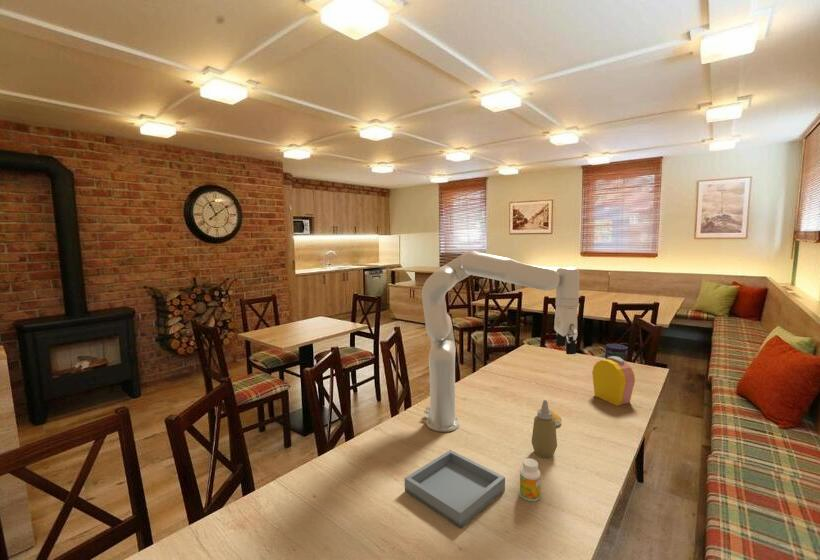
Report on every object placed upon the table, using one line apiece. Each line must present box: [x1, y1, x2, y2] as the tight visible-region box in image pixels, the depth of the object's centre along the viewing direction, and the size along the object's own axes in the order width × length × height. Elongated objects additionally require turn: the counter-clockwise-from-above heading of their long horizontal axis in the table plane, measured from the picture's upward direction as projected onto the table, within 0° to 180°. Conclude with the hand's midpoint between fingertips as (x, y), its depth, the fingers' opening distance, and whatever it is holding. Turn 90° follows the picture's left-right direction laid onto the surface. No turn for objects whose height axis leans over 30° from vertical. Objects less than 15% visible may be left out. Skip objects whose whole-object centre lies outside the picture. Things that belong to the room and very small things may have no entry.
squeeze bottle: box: [531, 399, 558, 459], centre depth 127 cm, size 8×8×18 cm
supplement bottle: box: [519, 457, 541, 502], centre depth 107 cm, size 5×5×10 cm
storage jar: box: [604, 342, 628, 362], centre depth 195 cm, size 10×10×15 cm
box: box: [404, 449, 506, 529], centre depth 110 cm, size 20×20×4 cm
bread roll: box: [549, 409, 562, 427], centre depth 149 cm, size 8×9×4 cm
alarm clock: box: [592, 356, 636, 406], centre depth 167 cm, size 15×8×18 cm, turn 22°
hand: (565, 349), depth 139 cm, fingers open, 9 cm apart
